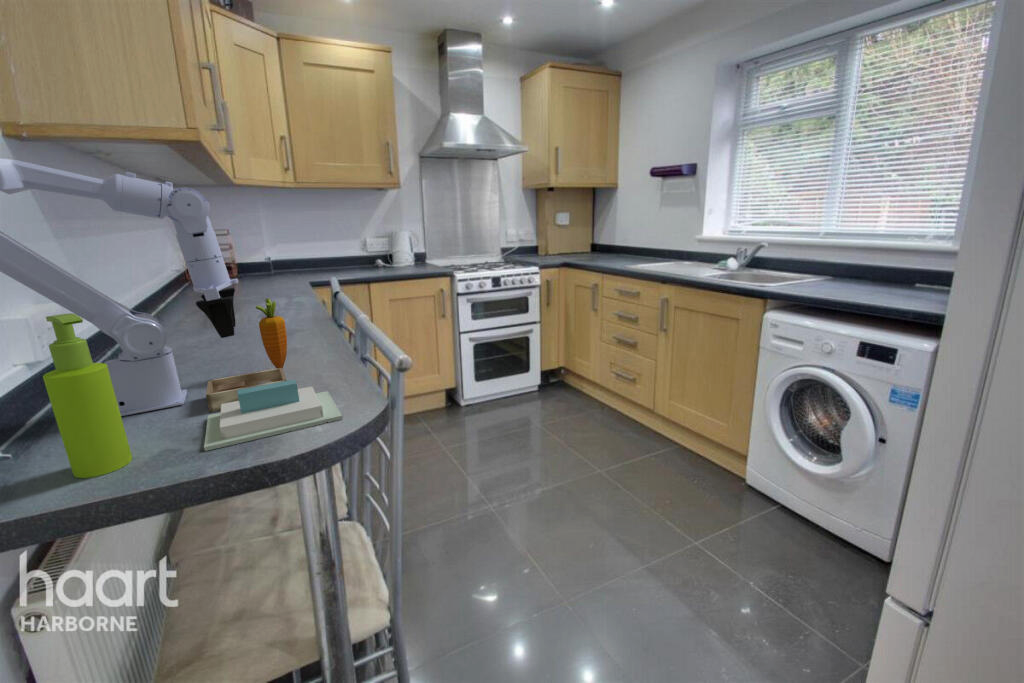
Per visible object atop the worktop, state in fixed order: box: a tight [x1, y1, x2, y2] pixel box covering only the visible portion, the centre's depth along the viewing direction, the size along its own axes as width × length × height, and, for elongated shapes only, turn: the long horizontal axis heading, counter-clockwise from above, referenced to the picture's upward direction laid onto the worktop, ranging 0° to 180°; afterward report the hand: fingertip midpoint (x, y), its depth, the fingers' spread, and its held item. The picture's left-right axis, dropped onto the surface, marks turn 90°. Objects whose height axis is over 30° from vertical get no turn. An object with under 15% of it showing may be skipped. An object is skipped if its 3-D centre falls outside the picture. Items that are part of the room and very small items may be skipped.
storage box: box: [205, 368, 288, 413], centre depth 83 cm, size 12×9×3 cm
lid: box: [220, 379, 324, 439], centre depth 72 cm, size 13×10×5 cm
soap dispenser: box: [42, 312, 133, 479], centre depth 58 cm, size 6×7×20 cm
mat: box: [203, 390, 343, 452], centre depth 73 cm, size 18×13×1 cm
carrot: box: [255, 298, 288, 369], centre depth 96 cm, size 5×5×15 cm
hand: (228, 331), depth 87 cm, fingers open, 7 cm apart
